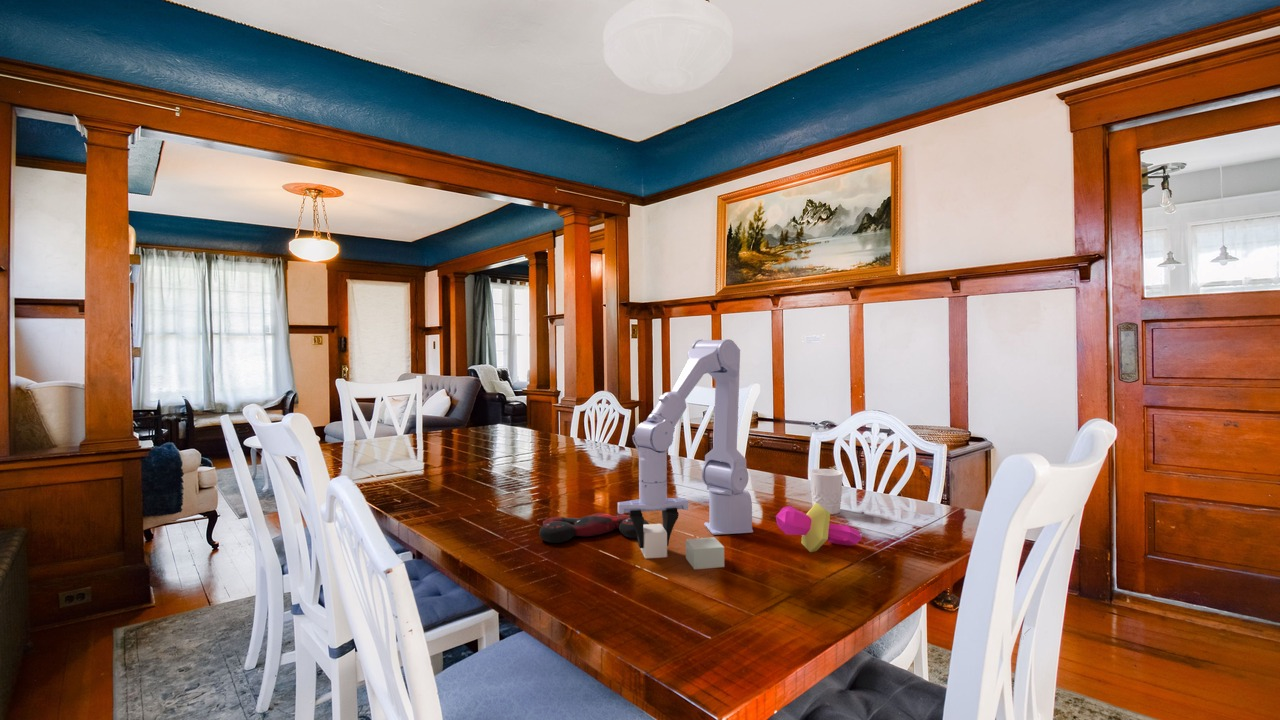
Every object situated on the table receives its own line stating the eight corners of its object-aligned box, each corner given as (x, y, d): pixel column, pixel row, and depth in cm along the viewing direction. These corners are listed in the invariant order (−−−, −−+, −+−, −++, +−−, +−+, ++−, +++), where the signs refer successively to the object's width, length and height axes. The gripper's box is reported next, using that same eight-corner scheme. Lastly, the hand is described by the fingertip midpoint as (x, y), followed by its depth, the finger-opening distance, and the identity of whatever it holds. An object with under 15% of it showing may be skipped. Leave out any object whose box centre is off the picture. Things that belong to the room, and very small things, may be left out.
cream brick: (661, 546, 124) (660, 523, 123) (667, 557, 118) (666, 532, 118) (640, 548, 123) (640, 524, 123) (645, 558, 117) (644, 533, 117)
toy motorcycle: (654, 546, 129) (642, 514, 144) (654, 524, 128) (642, 494, 143) (539, 555, 125) (540, 522, 141) (538, 533, 124) (539, 501, 140)
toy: (866, 563, 116) (870, 511, 120) (781, 539, 115) (788, 488, 119) (842, 565, 125) (846, 517, 129) (763, 543, 124) (770, 495, 128)
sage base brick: (714, 556, 118) (714, 537, 118) (724, 567, 112) (724, 547, 112) (685, 559, 117) (685, 539, 117) (694, 570, 111) (694, 549, 111)
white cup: (849, 512, 148) (849, 473, 148) (827, 517, 144) (827, 476, 144) (825, 505, 155) (825, 467, 155) (803, 509, 151) (803, 470, 151)
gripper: (681, 474, 125) (682, 536, 126) (615, 477, 122) (615, 541, 123) (691, 481, 118) (691, 548, 119) (620, 485, 115) (621, 553, 116)
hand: (653, 545), depth 120 cm, fingers closed on cream brick, 5 cm apart
